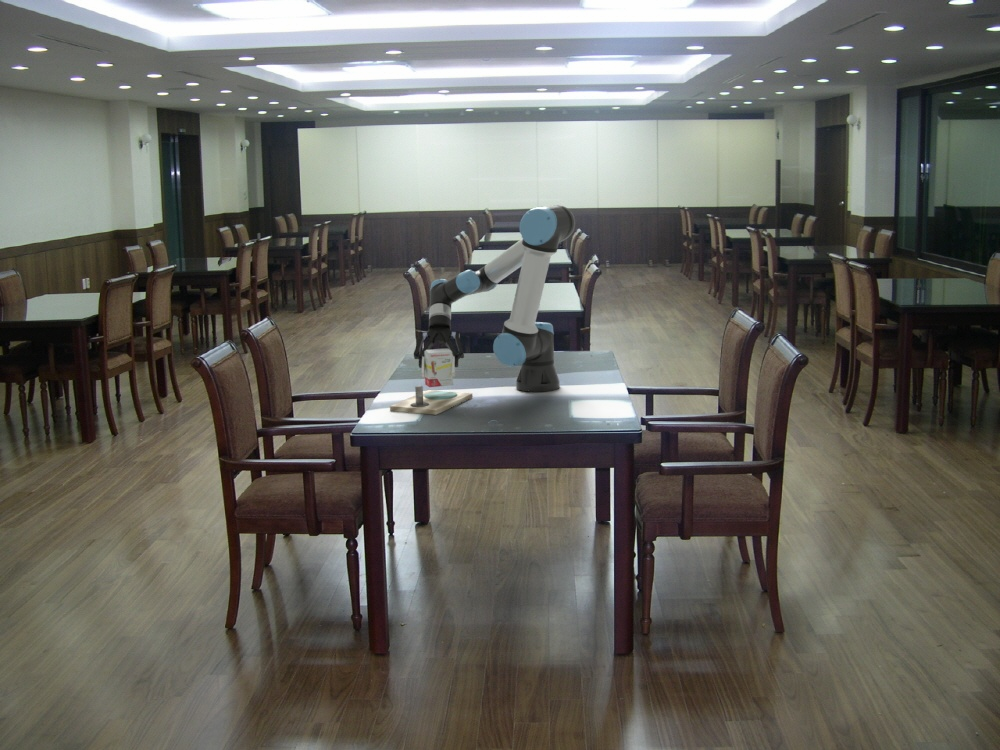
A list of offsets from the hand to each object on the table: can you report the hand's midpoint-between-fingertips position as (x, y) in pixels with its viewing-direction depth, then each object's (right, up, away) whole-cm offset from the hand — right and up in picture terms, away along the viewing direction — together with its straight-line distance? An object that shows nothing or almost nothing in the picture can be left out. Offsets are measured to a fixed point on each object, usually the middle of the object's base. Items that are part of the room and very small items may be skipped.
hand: (438, 374), depth 347 cm
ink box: (0, -4, +4) cm, 5 cm away
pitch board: (-2, -10, -1) cm, 10 cm away
